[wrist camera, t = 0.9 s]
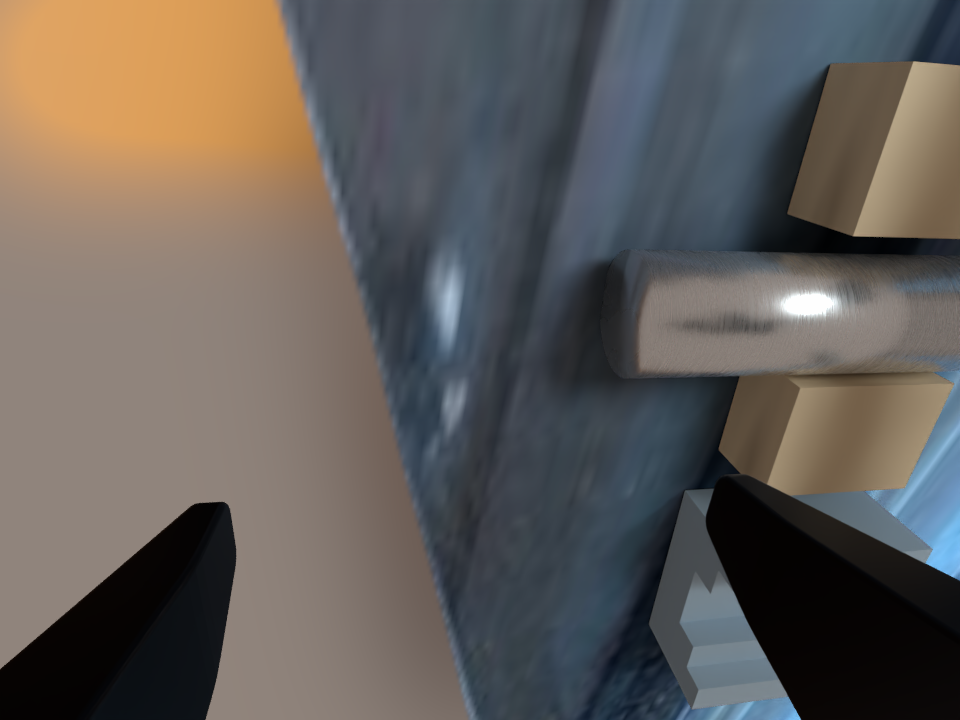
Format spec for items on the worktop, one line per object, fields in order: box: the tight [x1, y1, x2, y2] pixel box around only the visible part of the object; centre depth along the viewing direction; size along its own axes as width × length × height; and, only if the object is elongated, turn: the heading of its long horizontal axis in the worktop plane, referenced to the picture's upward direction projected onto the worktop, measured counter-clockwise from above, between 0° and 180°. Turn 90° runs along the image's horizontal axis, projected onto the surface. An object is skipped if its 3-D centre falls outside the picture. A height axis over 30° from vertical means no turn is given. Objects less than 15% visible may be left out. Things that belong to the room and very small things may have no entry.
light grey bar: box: [600, 249, 960, 379], centre depth 19 cm, size 12×4×4 cm, turn 87°
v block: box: [649, 489, 933, 709], centre depth 25 cm, size 8×8×4 cm
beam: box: [718, 61, 960, 496], centre depth 20 cm, size 6×14×3 cm, turn 177°
